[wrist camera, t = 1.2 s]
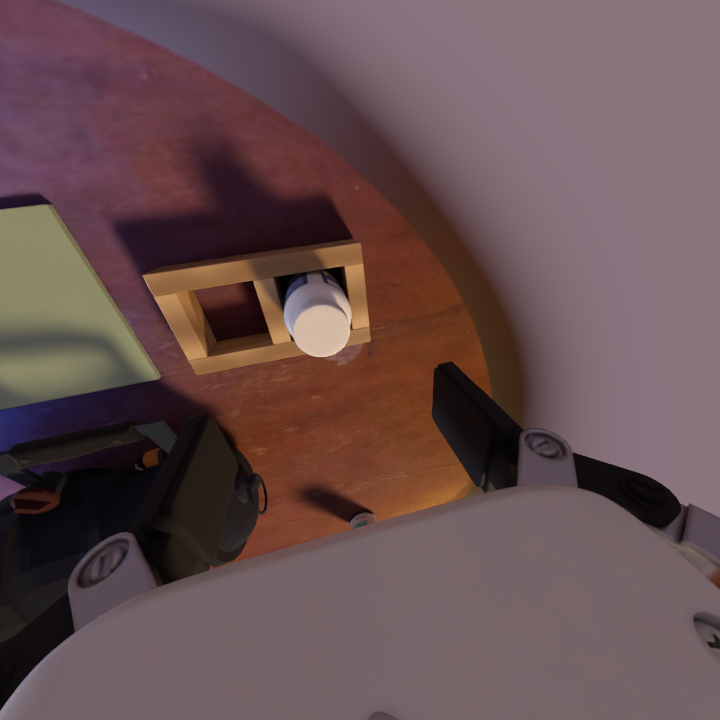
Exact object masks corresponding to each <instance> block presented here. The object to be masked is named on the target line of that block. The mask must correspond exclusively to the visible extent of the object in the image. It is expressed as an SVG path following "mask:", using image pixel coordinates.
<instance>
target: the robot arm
mask: <svg viewBox="0 0 720 720" xmlns="http://www.w3.org/2000/svg"><path fill="white" fill-rule="evenodd" d="M432 417H433V420H434V422H435V423H436V425H437V427H438V428H439V430H440V431H441V433H442V434H443V436H444V437H445V439H446V440H447V442H448V444H449V445H450V447H451V448H452V450H453V451H454V453H455V454H456V456H457V458H458V459H459V461H460V462H461V464H462V465H463V467H464V468H465V470H466V471H467V473H468V475H469V476H470V478H471V479H472V481H473V482H474V484H475V485H476V486H477V487H481V488H482V490H483V491H484V493H483V494H479V495H476V496H472V497H468V498H464V499H460V500H456V501H452V502H449V503H445V504H441V505H438V506H434V507H431V508H427V509H423V510H420V511H416V512H412V513H409V514H405V515H401V516H398V517H394V518H391V519H387V520H383V521H380V522H376V523H373V524H369V525H366V526H362V527H358V528H355V529H351V530H348V531H344V532H341V533H337V534H334V535H330V536H326V537H323V538H319V539H316V540H312V541H309V542H305V543H302V544H298V545H295V546H291V547H288V548H284V549H281V550H277V551H274V552H270V553H267V554H263V555H260V556H256V557H253V558H249V559H246V560H242V561H239V562H235V563H232V564H229V565H225V566H222V567H219V568H216V569H212V570H209V569H210V565H211V561H214V560H215V558H216V556H217V553H218V549H219V545H220V541H221V536H222V532H223V528H224V524H225V520H226V516H227V511H228V507H229V503H230V499H231V495H232V491H233V486H234V482H235V478H236V474H237V470H238V462H237V459H236V458H235V456H234V454H233V452H232V450H231V449H230V447H229V445H228V443H227V441H226V439H225V438H224V436H223V434H222V432H221V430H220V429H219V427H218V425H217V423H216V421H215V419H214V418H213V417H209V416H208V415H207V414H203V415H198V416H193V417H190V418H188V419H187V421H186V423H185V425H184V427H183V429H182V430H181V432H180V434H179V436H178V438H177V440H176V441H175V443H174V445H173V447H172V449H171V451H170V453H169V454H168V456H167V458H166V460H165V462H164V464H163V466H162V467H161V469H160V471H159V473H158V475H157V477H156V479H155V480H154V482H153V484H152V486H151V488H150V490H149V492H148V493H147V495H146V497H145V499H144V501H143V503H142V504H141V506H140V508H139V510H138V512H137V514H136V516H135V517H134V519H133V521H132V525H131V527H130V529H129V531H128V532H123V533H117V534H115V535H113V536H110V537H108V538H107V539H105V540H103V541H102V542H100V543H99V544H97V545H96V546H95V547H94V548H93V549H91V550H90V551H89V552H88V553H87V554H86V555H85V556H84V557H83V558H82V559H81V561H80V562H79V563H78V565H77V566H76V567H75V569H74V570H73V572H72V574H71V576H70V579H69V581H68V592H67V593H65V594H64V595H63V596H62V597H61V598H59V599H58V600H57V601H56V602H55V603H53V604H52V605H51V606H50V607H49V608H47V609H46V610H45V611H44V612H43V613H41V614H40V615H39V616H38V617H37V618H35V619H34V620H33V621H32V622H31V623H29V624H28V625H27V626H26V627H24V628H23V629H22V630H21V631H20V632H18V633H17V634H16V635H15V636H14V637H12V638H11V639H10V640H9V641H8V642H6V643H5V644H4V645H3V646H2V647H0V720H720V518H719V517H717V516H715V515H713V514H711V513H709V512H707V511H704V510H702V509H700V508H698V507H696V506H694V505H692V504H689V505H688V506H687V507H686V506H684V505H682V504H680V503H679V501H678V499H677V498H676V497H675V496H674V494H673V493H672V492H671V491H670V490H669V489H667V488H666V487H665V486H663V485H662V484H660V483H659V482H657V481H656V480H654V479H652V478H650V477H648V476H645V475H643V474H640V473H637V472H634V471H630V470H627V469H624V468H621V467H618V466H614V465H611V464H608V463H605V462H601V461H599V460H595V459H592V458H589V457H586V456H583V455H579V454H576V453H573V452H572V450H571V447H570V445H569V444H568V443H567V442H566V441H565V440H564V439H563V438H562V437H560V436H559V435H557V434H555V433H553V432H551V431H548V430H545V429H540V428H529V429H526V430H523V429H522V428H521V427H520V426H519V425H518V424H517V423H515V421H514V420H513V419H512V418H511V417H510V416H508V415H507V414H506V413H505V412H504V411H503V410H502V409H501V408H500V407H499V406H498V405H497V404H496V403H495V402H494V401H493V400H492V399H491V398H490V397H489V396H488V395H487V394H486V393H485V392H484V391H483V390H482V389H480V388H479V387H478V386H477V385H476V384H475V383H474V382H473V381H472V380H470V379H469V378H468V377H467V376H466V375H465V374H464V373H463V372H462V371H461V370H460V369H459V368H458V367H457V366H456V365H455V364H454V363H453V362H447V363H443V364H439V365H438V366H437V368H435V370H434V383H433V405H432Z"/></svg>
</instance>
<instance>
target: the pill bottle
mask: <svg viewBox="0 0 720 720" xmlns="http://www.w3.org/2000/svg"><path fill="white" fill-rule="evenodd" d="M351 319H352V311H351V307H350V304H349V301H348V299H347V297H346V296H345V294H344V292H343V291H342V289H341V287H340V285H339V284H338V282H337V280H336V279H335V278H334V277H333V276H332V275H331V274H330V273H328V272H326V271H324V270H315V271H309V272H303V273H297V274H295V275H294V276H293V277H292V278H291V280H290V281H289V283H288V286H287V290H286V297H285V306H284V321H285V325H286V327H287V329H288V331H289V333H290V334H291V336H292V337H293V338H294V340H295V342H296V344H297V346H298V347H299V348H300V349H301V350H302V351H304V352H305V353H307V354H309V355H312V356H316V357H326V356H330V355H333V354H335V353H337V352H338V351H340V350H341V349H342V348H343V347H344V346H345V344H346V343H347V341H348V339H349V336H350V324H351Z"/></svg>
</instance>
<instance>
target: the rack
mask: <svg viewBox="0 0 720 720" xmlns="http://www.w3.org/2000/svg"><path fill="white" fill-rule="evenodd" d="M334 267H340V268H341V275H342V282H343V289H344V294H345V296H346V297H347V299H348V301H349V304H350V307H351V311H352V319H351V324H350V336H349V339H348V341H347V343H346V344H345V346H349V345H355V344H360V343H365V342H370V341H371V339H370V328H369V318H368V308H367V298H366V288H365V278H364V268H363V258H362V248H361V242H359V241H357V240H355V239H347V240H340V241H333V242H326V243H319V244H313V245H306V246H299V247H292V248H285V249H279V250H272V251H265V252H258V253H251V254H244V255H238V256H231V257H224V258H217V259H210V260H204V261H197V262H190V263H183V264H176V265H169V266H163V267H160V268H157V269H155V270H153V271H150V272H148V273H146V274H143V275H142V276H143V278H144V280H145V282H146V283H147V285H148V287H149V289H150V291H151V293H152V294H153V296H154V298H155V300H156V302H157V304H158V306H159V307H160V309H161V311H162V313H163V315H164V317H165V318H166V320H167V322H168V324H169V326H170V327H171V329H172V331H173V333H174V335H175V337H176V338H177V340H178V342H179V344H180V346H181V348H182V349H183V351H184V353H185V355H186V357H187V359H188V360H189V362H190V364H191V366H192V368H193V370H194V372H195V373H196V375H201V374H206V373H211V372H216V371H222V370H227V369H232V368H237V367H242V366H247V365H252V364H257V363H262V362H268V361H273V360H278V359H283V358H288V357H293V356H298V355H303V354H307V353H305V352H304V351H302V350H301V349H300V348H299V347H298V346H297V344H296V342H295V340H294V338H293V337H292V336H291V334H290V333H289V331H288V329H287V327H286V325H285V321H284V306H285V300H284V297H283V293H282V289H281V286H280V282H279V278H278V276H284V275H290V274H297V273H303V272H309V271H315V270H322V269H328V268H334ZM252 280H253V283H254V286H255V289H256V292H257V295H258V298H259V301H260V304H261V307H262V310H263V313H264V316H265V319H266V322H267V325H268V329H269V332H267V333H262V334H256V335H251V336H245V337H240V338H235V339H229V340H224V341H218V342H217V341H216V339H215V337H214V335H213V332H212V330H211V328H210V326H209V324H208V321H207V319H206V317H205V315H204V313H203V310H202V308H201V306H200V304H199V302H198V299H197V297H196V295H195V293H194V291H193V290H196V289H202V288H208V287H215V286H221V285H227V284H234V283H240V282H246V281H252Z"/></svg>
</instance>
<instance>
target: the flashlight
mask: <svg viewBox="0 0 720 720" xmlns="http://www.w3.org/2000/svg"><path fill="white" fill-rule="evenodd" d="M146 436H148V437H149V438H150V439H151V440H153V441H154V442H155V443H156V444H157V445H159V446H160V448H157V449H154V450H150V451H147V452H146V453H145V454H144V455H142V456H141V457H139V458H138V460H137V463H136V465H135V467H136V469H138V470H141V471H133V470H126V471H121V472H114V471H111V470H109V469H101V468H88V469H82V470H79V469H73V470H69V471H66V472H64V473H61V472H55V471H50V472H44V473H43V474H41V475H40V476H39V475H37V474H35V473H34V472H32V471H30V470H28V469H26V468H28V467H32V466H35V465H39V464H44V463H50V462H56V461H61V460H67V459H71V458H76V457H80V456H83V455H86V454H89V453H92V452H95V451H98V450H102V449H105V448H108V447H113V446H118V445H124V444H128V443H132V442H135V441H139V440H142V439H144V438H145V437H146ZM177 438H178V437H177V436H176V435H175V433H174V432H173V431H172V430H171V429H170V428H169V426H168V425H167V424H166V423H165V422H164V421H163V420H162V419H157V420H153V421H148V422H143V423H139V424H138V423H136V422H135V421H129V422H124V423H119V424H114V425H109V426H104V427H99V428H94V429H89V430H84V431H79V432H74V433H70V434H65V435H60V436H55V437H50V438H45V439H40V440H35V441H30V442H25V443H20V444H17V445H15V446H13V447H12V448H11V450H10V451H5V452H1V453H0V474H1V475H3V476H5V477H7V478H9V479H11V480H13V481H16V482H18V483H20V484H22V485H24V486H26V488H24V489H21V490H20V491H18V492H16V493H14V494H12V495H9V496H7V497H6V498H4V499H3V500H1V501H0V647H2V646H3V645H4V644H5V643H6V642H8V641H9V640H10V639H11V638H12V637H14V636H15V635H16V634H17V633H18V632H20V631H21V630H22V629H23V628H24V627H26V626H27V625H28V624H29V623H31V622H32V621H33V620H34V619H35V618H37V617H38V616H39V615H40V614H41V613H43V612H44V611H45V610H46V609H47V608H49V607H50V606H51V605H52V604H53V603H55V602H56V601H57V600H58V599H59V598H61V597H62V596H63V595H64V594H65V593H67V592H68V581H69V579H70V576H71V574H72V572H73V570H74V569H75V567H76V566H77V565H78V563H79V562H80V561H81V559H82V558H83V557H84V556H85V555H86V554H87V553H88V552H89V551H90V550H91V549H93V548H94V547H95V546H96V545H97V544H99V543H100V542H102V541H103V540H105V539H107V538H108V537H110V536H113V535H115V534H117V533H123V532H128V531H129V529H130V527H131V525H132V521H133V519H134V517H135V516H136V514H137V512H138V510H139V508H140V506H141V504H142V503H143V501H144V499H145V497H146V495H147V493H148V492H149V490H150V488H151V486H152V484H153V482H154V480H155V479H156V477H157V475H158V473H159V471H160V469H161V467H162V466H163V464H164V462H165V460H166V458H167V456H168V454H169V453H170V451H171V449H172V447H173V445H174V443H175V441H176V440H177ZM226 441H227V440H226ZM227 443H228V445H229V447H230V449H231V450H232V452H233V454H234V456H235V458H236V459H237V462H238V470H237V474H236V478H235V482H234V486H233V491H232V495H231V499H230V503H229V507H228V511H227V516H226V520H225V524H224V528H223V532H222V536H221V541H220V545H219V549H218V553H217V556H216V558H215V560H214V561H211V566H213V567H217V566H221V565H224V564H226V563H228V562H231V561H233V560H235V559H236V558H237V557H238V556H239V555H240V554H241V552H242V550H243V548H244V546H245V544H246V542H247V539H248V537H249V536H250V534H251V532H252V531H253V529H254V527H255V525H256V522H257V518H258V514H260V515H261V514H264V513H265V511H266V509H267V502H268V501H267V492H266V487H265V484H264V481H263V479H262V478H261V476H260V475H258V474H257V473H255V474H254V473H253V471H252V468H251V466H250V464H249V463H248V461H247V459H246V458H245V457H244V456H243V454H242V453H241V452H240V451H238V450H237V449H236V448H235V447H234V446H233V444H231V443H230V442H229V441H227ZM138 467H139V468H138ZM144 467H147V468H148V469H141V468H144ZM260 481H261V483H262V486H263V489H264V494H265V507H264V510H263V511H262V512H261V511H259V493H258V488H259V486H260Z"/></svg>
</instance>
